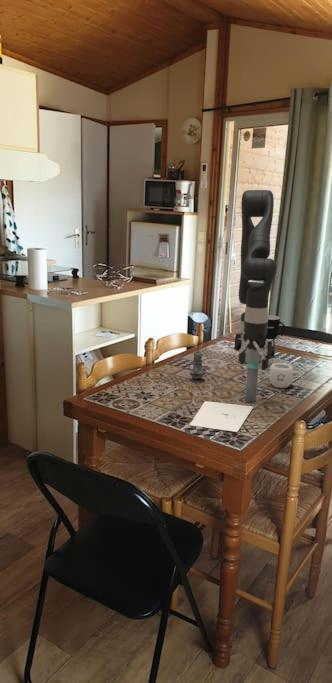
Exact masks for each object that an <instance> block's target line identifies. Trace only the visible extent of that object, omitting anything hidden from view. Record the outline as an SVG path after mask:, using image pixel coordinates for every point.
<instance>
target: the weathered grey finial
mask: <svg viewBox="0 0 332 683" xmlns="http://www.w3.org/2000/svg"><path fill="white" fill-rule="evenodd" d="M202 356H203V354H202V352H200V351H199V349H197V351H196V352H194V353H193V361H192V363H193V364H192V365H193V366H192V367H193V368H192V369H189V375H190V376H191V378H189V381H190V382H192V383H195V384H196V383H197V384H200V383H203V382H205V380H204V379H205V378H203V377H204V376H205V372H206V371H205V369H203V366H202V365H203V361H202V360H203V359H202Z"/></svg>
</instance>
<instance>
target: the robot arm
mask: <svg viewBox="0 0 332 683" xmlns="http://www.w3.org/2000/svg"><path fill="white" fill-rule="evenodd" d="M274 199H275V198H274V194H273V191H271V190H268V189H249V190H244V191H243V193H242V196H241V203H240V204H241V206H240V208H241V241H240V242H241V244H240V277H239V287H238V300H239V303H240V304H242V305H245V310H244V312H242V313H241V315H240V327H239V328H240V329H239V332H238V333H236V334H235V338H234V345H233V346H234V347H233V348H234V351H235V352H236V351H237V352H238V362H239V365H245V364H247V362H248V361H257V362H259V363H260V362H261V370H262V371H265V370H267V369H268V368H269V360H271V359H274V358H275V356H276V355H275V354H276V353H275V352H276V351H275V349H276V343H275V340H274V339H266V334H267V324H268V315H269V297H270V291H271V287H272V284H273V282H274V279H275V276H276V273H277V263H276V261H275V260H274V259H272V258H269V257H270V254H271V231H272V225H273V217H274V202H275V200H274ZM252 218H261V219H260V220H259V222H258V223H257V224H256V225H254V223H253V221H252V220H253V219H252ZM261 281H262V282H261Z"/></svg>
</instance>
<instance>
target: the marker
mask: <svg viewBox="0 0 332 683" xmlns="http://www.w3.org/2000/svg"><path fill="white" fill-rule="evenodd" d="M246 365H247V366H246V368H247V370H246V385H245V386H246V387H245V399H244V400H245V403H249V404H255V403H256V402H257V392H258V391H257V390H258V381H259V380H258V377H259V368H260V366H259V365H260V362H257V361H248V362H247V363H246Z"/></svg>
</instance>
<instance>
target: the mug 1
mask: <svg viewBox="0 0 332 683" xmlns="http://www.w3.org/2000/svg"><path fill="white" fill-rule="evenodd" d="M280 325H282V328H283V330H282V331H281V332H279V328H280ZM285 326H286V325H285V324H284V323H283V322H282V321H281V318H280V317H279V316H278V315H272V314H271V315H269V314H268V324H267V334H266V339H267V340H274V339H276V338H277V337H278V336H280V335H283V334H284V333H285V331H286V327H285Z"/></svg>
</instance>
